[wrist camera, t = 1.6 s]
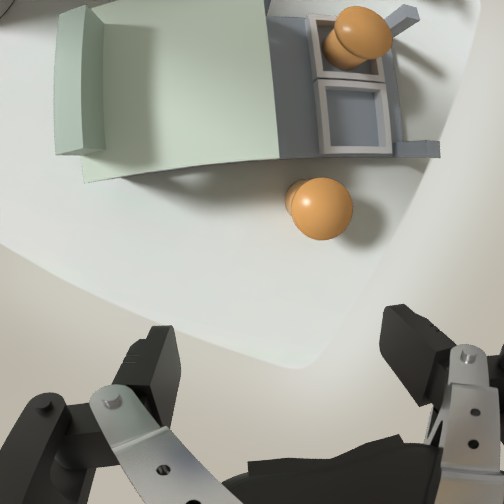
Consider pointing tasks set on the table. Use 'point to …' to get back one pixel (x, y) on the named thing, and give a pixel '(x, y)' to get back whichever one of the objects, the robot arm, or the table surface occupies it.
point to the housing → (334, 95)
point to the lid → (163, 85)
